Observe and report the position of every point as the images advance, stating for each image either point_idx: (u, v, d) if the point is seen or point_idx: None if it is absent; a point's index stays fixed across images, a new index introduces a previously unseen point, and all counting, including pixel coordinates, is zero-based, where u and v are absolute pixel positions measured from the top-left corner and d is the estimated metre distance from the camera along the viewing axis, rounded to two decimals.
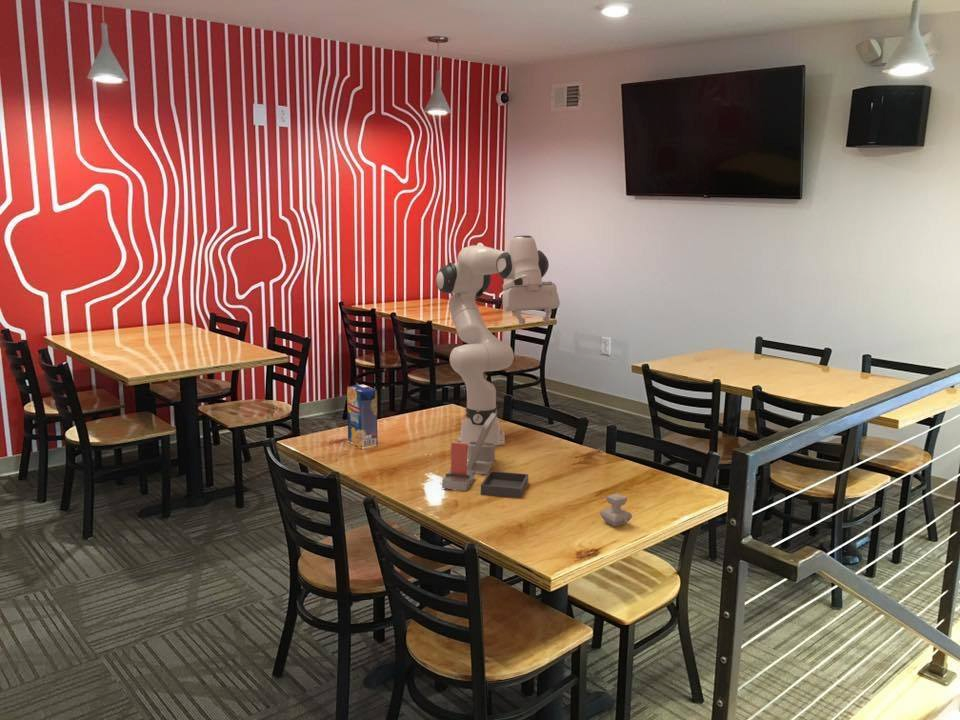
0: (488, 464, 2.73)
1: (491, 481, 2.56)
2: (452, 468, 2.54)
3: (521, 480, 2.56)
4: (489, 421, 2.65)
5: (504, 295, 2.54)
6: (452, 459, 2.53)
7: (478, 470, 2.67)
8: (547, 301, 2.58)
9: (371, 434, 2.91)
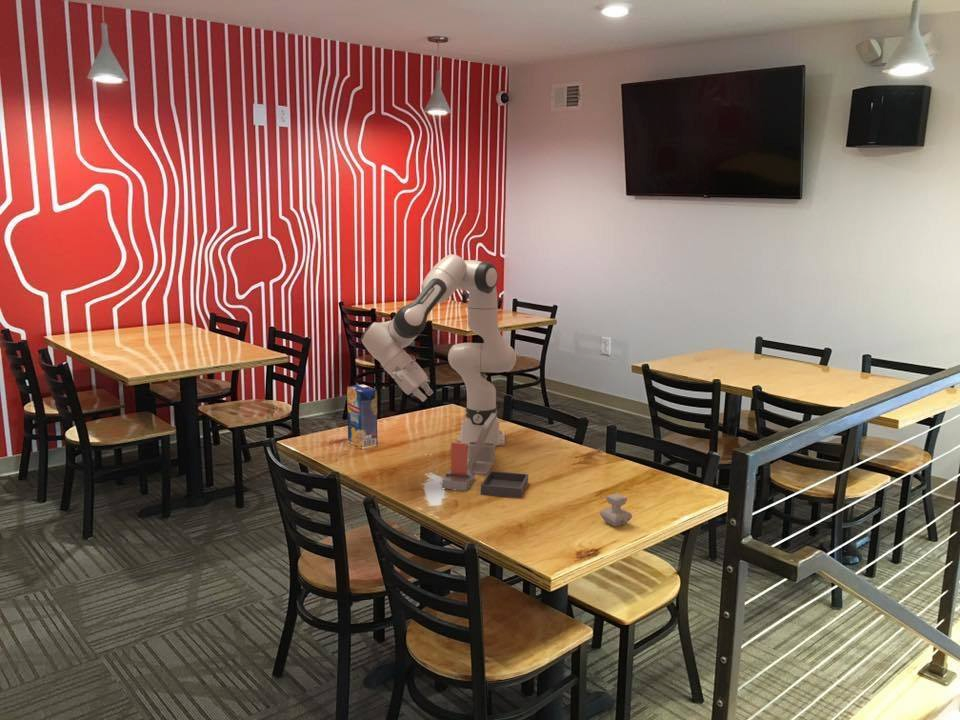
0: (488, 464, 2.72)
1: (491, 481, 2.56)
2: (452, 468, 2.54)
3: (521, 480, 2.56)
4: (489, 421, 2.65)
5: None
6: (452, 459, 2.53)
7: (477, 470, 2.67)
8: None
9: (371, 434, 2.91)
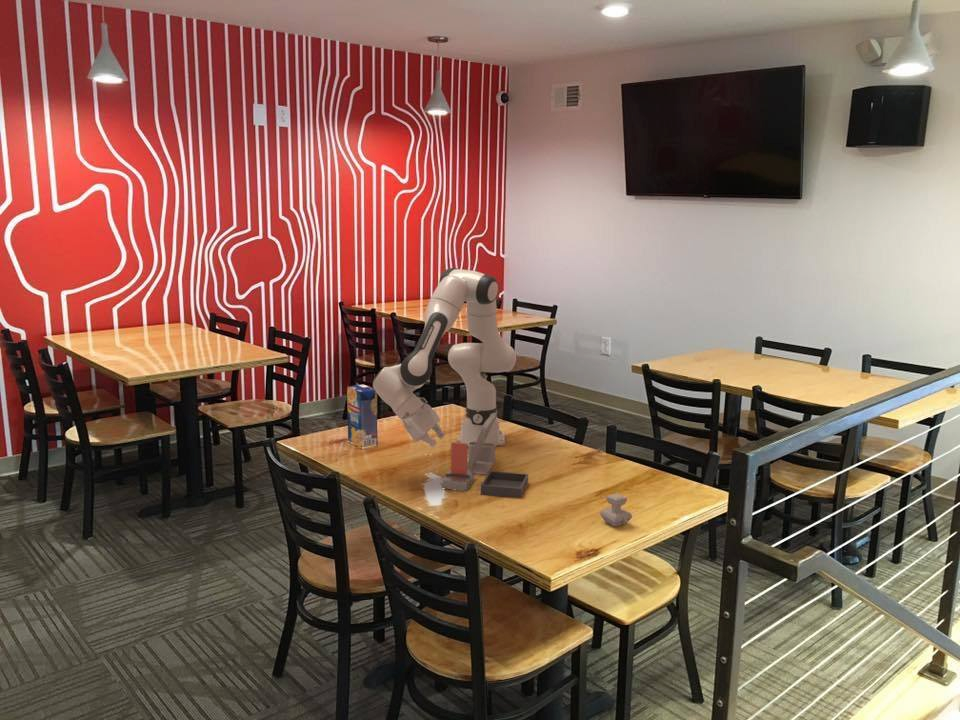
0: (488, 464, 2.72)
1: (491, 481, 2.56)
2: (452, 468, 2.54)
3: (521, 480, 2.56)
4: (489, 421, 2.65)
5: None
6: (452, 459, 2.53)
7: (477, 470, 2.66)
8: None
9: (371, 434, 2.91)
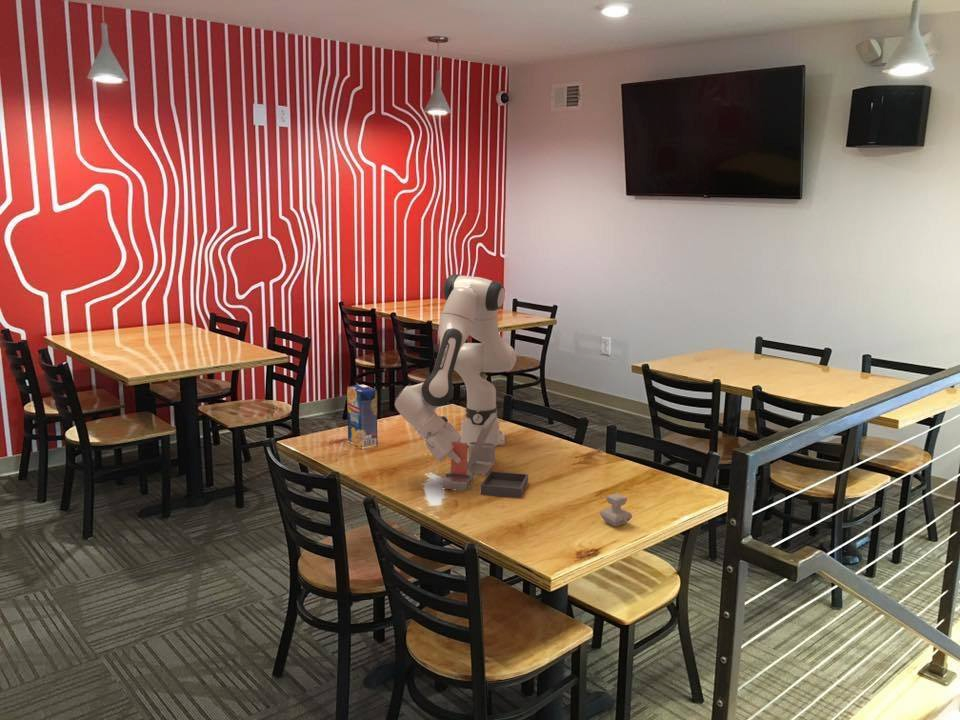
0: (488, 464, 2.72)
1: (491, 481, 2.56)
2: (452, 468, 2.54)
3: (521, 480, 2.56)
4: (489, 421, 2.65)
5: None
6: (452, 459, 2.53)
7: (477, 470, 2.66)
8: None
9: (371, 434, 2.91)
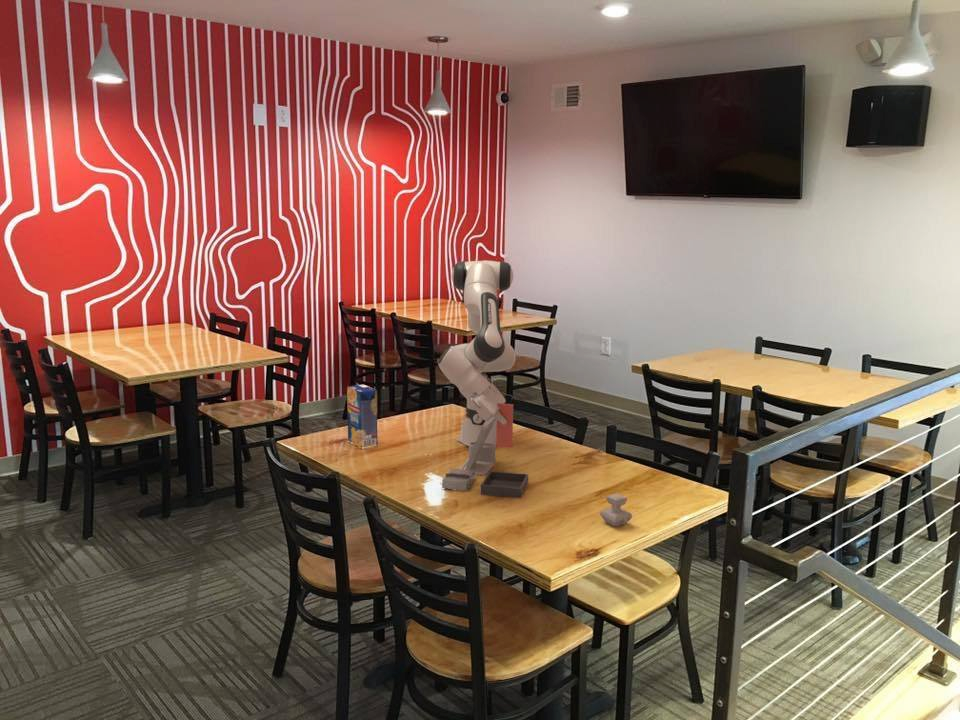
0: (488, 465, 2.72)
1: (491, 481, 2.56)
2: (497, 430, 2.47)
3: (521, 480, 2.56)
4: (488, 422, 2.64)
5: None
6: (497, 421, 2.47)
7: (477, 470, 2.66)
8: None
9: (371, 434, 2.91)
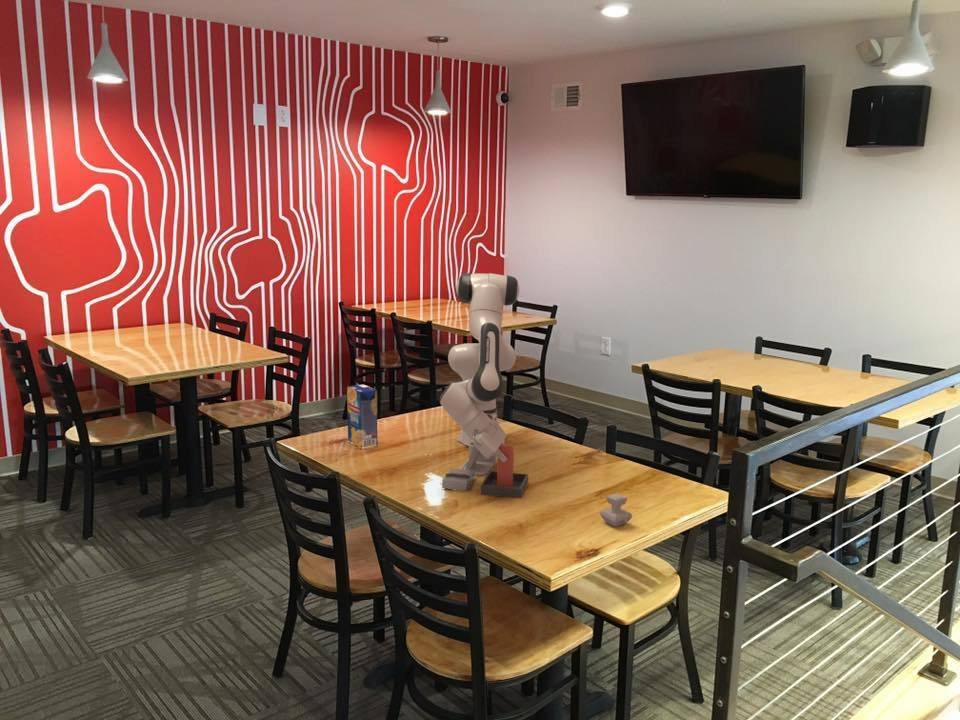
0: (488, 465, 2.72)
1: (491, 481, 2.56)
2: (498, 471, 2.50)
3: (521, 480, 2.56)
4: None
5: None
6: (498, 462, 2.49)
7: (477, 470, 2.66)
8: None
9: (371, 434, 2.91)
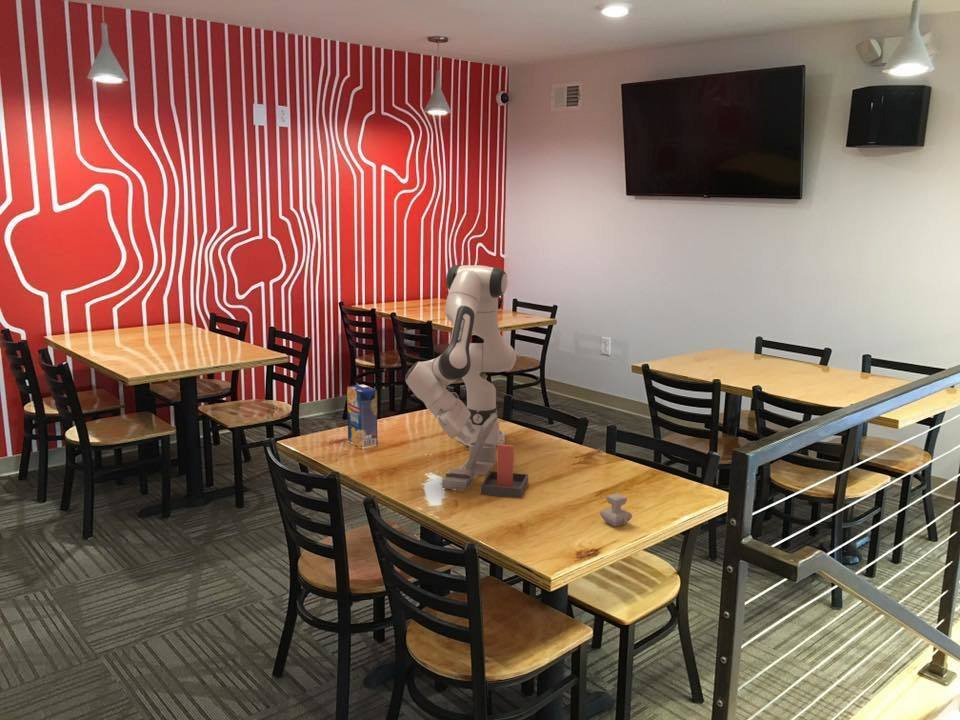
0: (488, 465, 2.72)
1: (491, 481, 2.56)
2: (498, 471, 2.50)
3: (521, 480, 2.56)
4: (488, 422, 2.64)
5: None
6: (498, 462, 2.49)
7: (476, 470, 2.66)
8: None
9: (371, 434, 2.91)
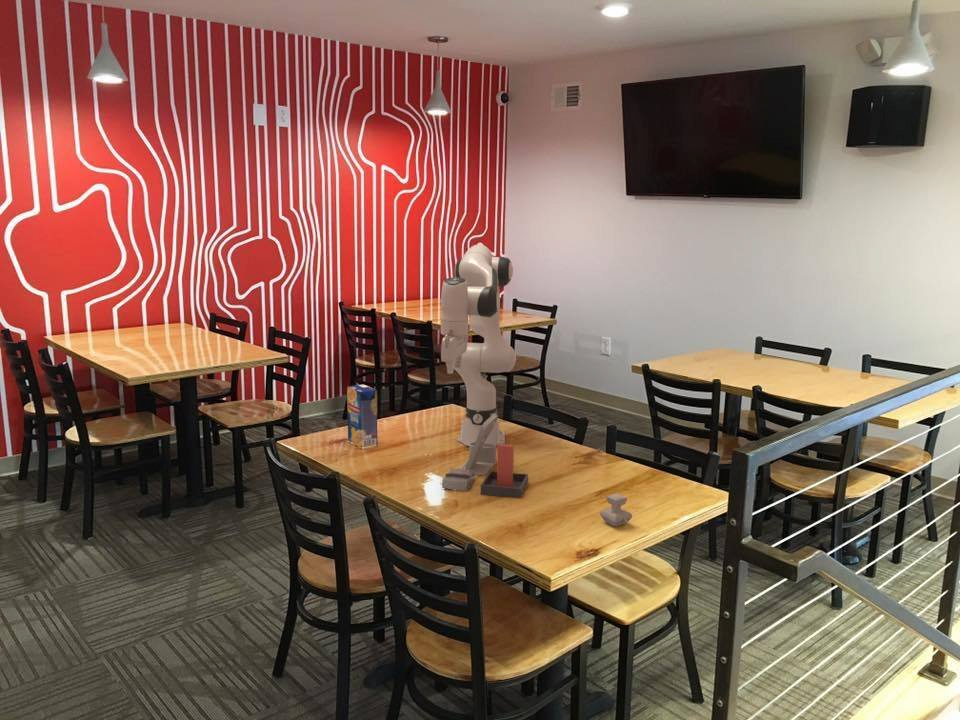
0: (488, 465, 2.71)
1: (491, 481, 2.56)
2: (498, 471, 2.50)
3: (521, 480, 2.56)
4: (488, 422, 2.64)
5: None
6: (498, 462, 2.49)
7: (476, 470, 2.66)
8: None
9: (371, 434, 2.91)
